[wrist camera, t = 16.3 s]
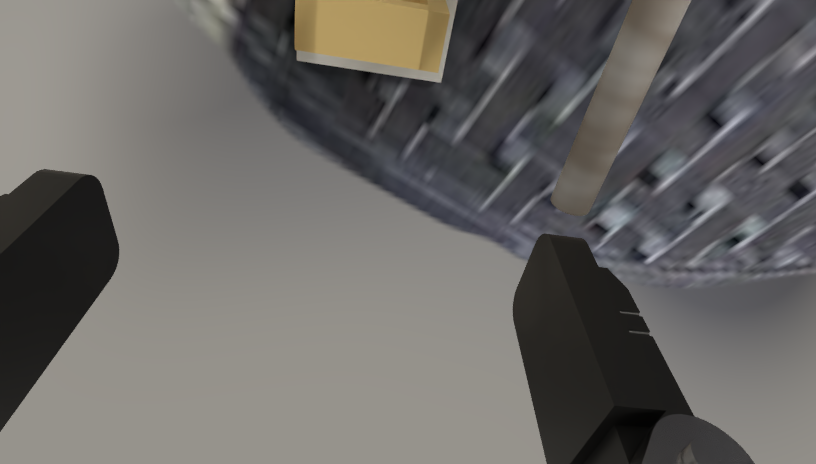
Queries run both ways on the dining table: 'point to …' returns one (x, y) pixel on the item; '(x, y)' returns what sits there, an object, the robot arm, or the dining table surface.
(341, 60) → the mat
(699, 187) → the dining table surface
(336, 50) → the loop
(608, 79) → the stand
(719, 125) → the dining table surface
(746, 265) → the dining table surface
